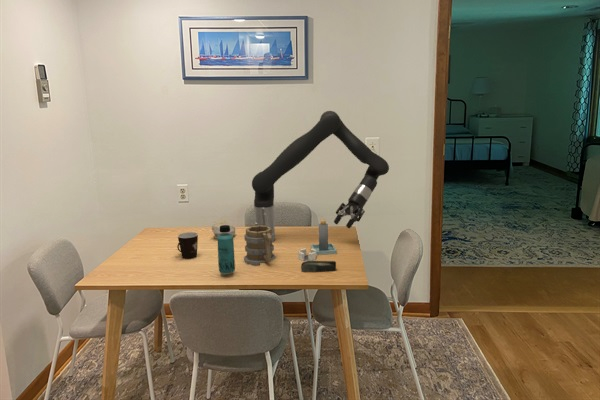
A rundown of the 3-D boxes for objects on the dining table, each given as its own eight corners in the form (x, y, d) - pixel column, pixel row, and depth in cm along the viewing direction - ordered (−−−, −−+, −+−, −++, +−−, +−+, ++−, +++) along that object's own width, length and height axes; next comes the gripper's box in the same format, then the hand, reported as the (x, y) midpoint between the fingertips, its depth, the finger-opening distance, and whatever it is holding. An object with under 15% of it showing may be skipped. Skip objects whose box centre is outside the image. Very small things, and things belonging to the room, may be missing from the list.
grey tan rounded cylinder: (319, 252, 205) (319, 221, 201) (318, 249, 208) (318, 219, 205) (328, 251, 205) (328, 220, 202) (327, 249, 209) (327, 218, 206)
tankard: (241, 257, 203) (239, 224, 200) (269, 253, 208) (268, 220, 205) (254, 273, 185) (253, 237, 182) (284, 268, 190) (283, 232, 187)
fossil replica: (240, 236, 236) (224, 235, 240) (238, 219, 235) (222, 219, 239) (226, 241, 225) (209, 240, 230) (224, 224, 224) (207, 223, 229)
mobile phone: (335, 259, 185) (297, 260, 184) (336, 262, 182) (298, 263, 181) (335, 271, 186) (297, 272, 185) (336, 274, 183) (298, 275, 182)
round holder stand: (305, 264, 193) (305, 255, 192) (295, 259, 199) (294, 250, 198) (320, 260, 197) (320, 251, 197) (309, 255, 203) (309, 247, 203)
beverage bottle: (219, 272, 188) (216, 223, 183) (236, 271, 188) (233, 223, 184) (218, 278, 181) (214, 228, 177) (235, 277, 182) (232, 227, 177)
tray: (313, 257, 202) (313, 251, 201) (310, 249, 211) (310, 244, 211) (336, 256, 202) (336, 250, 202) (332, 248, 212) (332, 243, 212)
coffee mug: (192, 252, 212) (191, 231, 210) (203, 256, 206) (201, 234, 204) (169, 258, 204) (167, 236, 202) (179, 263, 198) (177, 240, 196)
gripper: (345, 189, 217) (326, 217, 214) (366, 193, 206) (347, 223, 202) (354, 198, 221) (335, 226, 218) (375, 203, 210) (356, 233, 206)
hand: (341, 225), depth 210 cm, fingers open, 8 cm apart
